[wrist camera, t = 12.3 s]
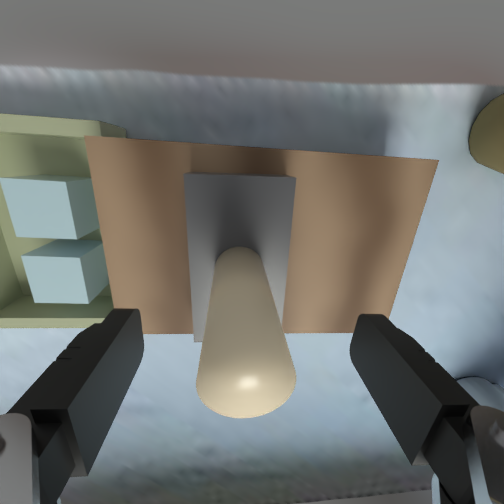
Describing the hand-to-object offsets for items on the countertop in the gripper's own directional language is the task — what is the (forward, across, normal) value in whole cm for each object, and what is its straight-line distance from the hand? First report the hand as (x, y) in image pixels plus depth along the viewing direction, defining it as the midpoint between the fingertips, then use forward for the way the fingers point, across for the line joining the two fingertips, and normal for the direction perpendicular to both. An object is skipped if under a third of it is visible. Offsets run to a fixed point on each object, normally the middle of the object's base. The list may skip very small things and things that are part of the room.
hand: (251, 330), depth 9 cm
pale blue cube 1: (+12, +12, -2) cm, 17 cm away
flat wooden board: (+15, -2, 0) cm, 15 cm away
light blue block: (+12, +12, +4) cm, 17 cm away
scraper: (+9, 0, 0) cm, 9 cm away
